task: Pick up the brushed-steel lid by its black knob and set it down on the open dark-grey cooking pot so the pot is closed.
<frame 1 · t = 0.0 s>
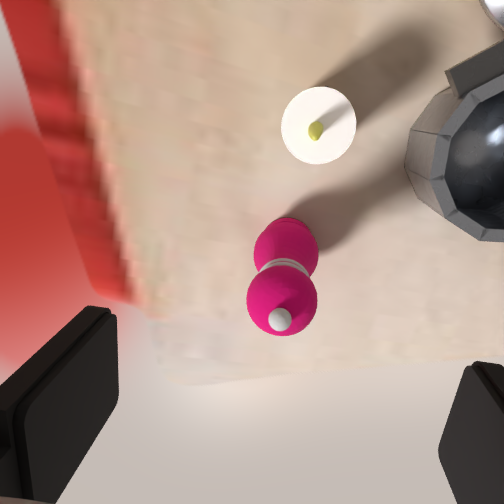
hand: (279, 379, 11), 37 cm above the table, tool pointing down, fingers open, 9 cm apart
pepper mill: (287, 241, 49), on the table
candle: (314, 121, 44), on the table
pot: (478, 150, 43), on the table
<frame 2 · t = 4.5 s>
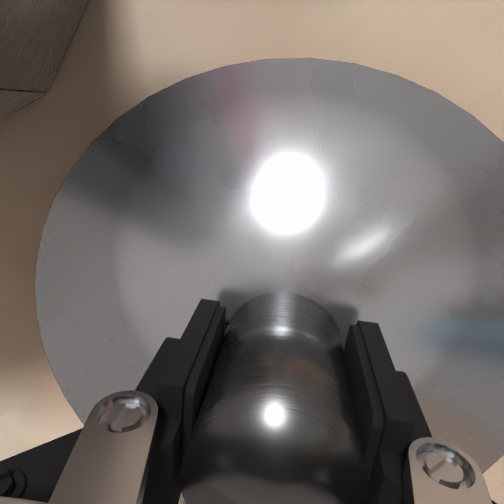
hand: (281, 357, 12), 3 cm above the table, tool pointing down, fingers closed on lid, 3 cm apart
lid: (285, 307, 15), on the table, touching gripper
when the fingers open (12 cm above the table, at t = 9.1 s): lid stays where it is, resting on pot.
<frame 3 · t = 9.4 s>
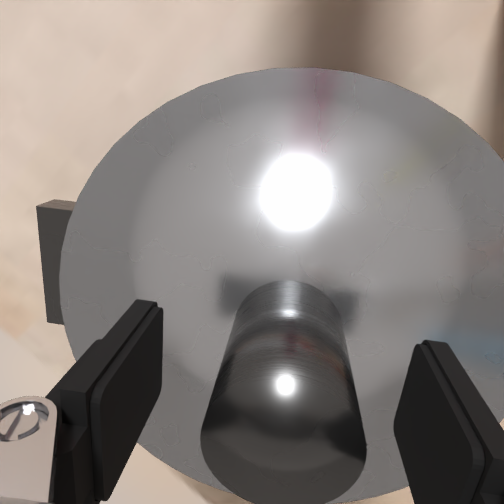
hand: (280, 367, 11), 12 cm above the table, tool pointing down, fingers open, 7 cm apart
pot: (289, 236, 23), on the table
lid: (289, 296, 16), point 7 cm above the table, touching pot
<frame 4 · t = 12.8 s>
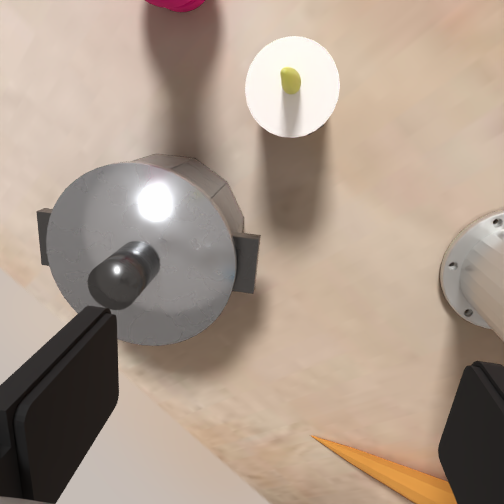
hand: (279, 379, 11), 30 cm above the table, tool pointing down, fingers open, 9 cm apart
candle: (294, 95, 36), on the table
pot: (173, 226, 42), on the table
lid: (149, 251, 35), point 7 cm above the table, touching pot
carrot: (384, 459, 50), on the table
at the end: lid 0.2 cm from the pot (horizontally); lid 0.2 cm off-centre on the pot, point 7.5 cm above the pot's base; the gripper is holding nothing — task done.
